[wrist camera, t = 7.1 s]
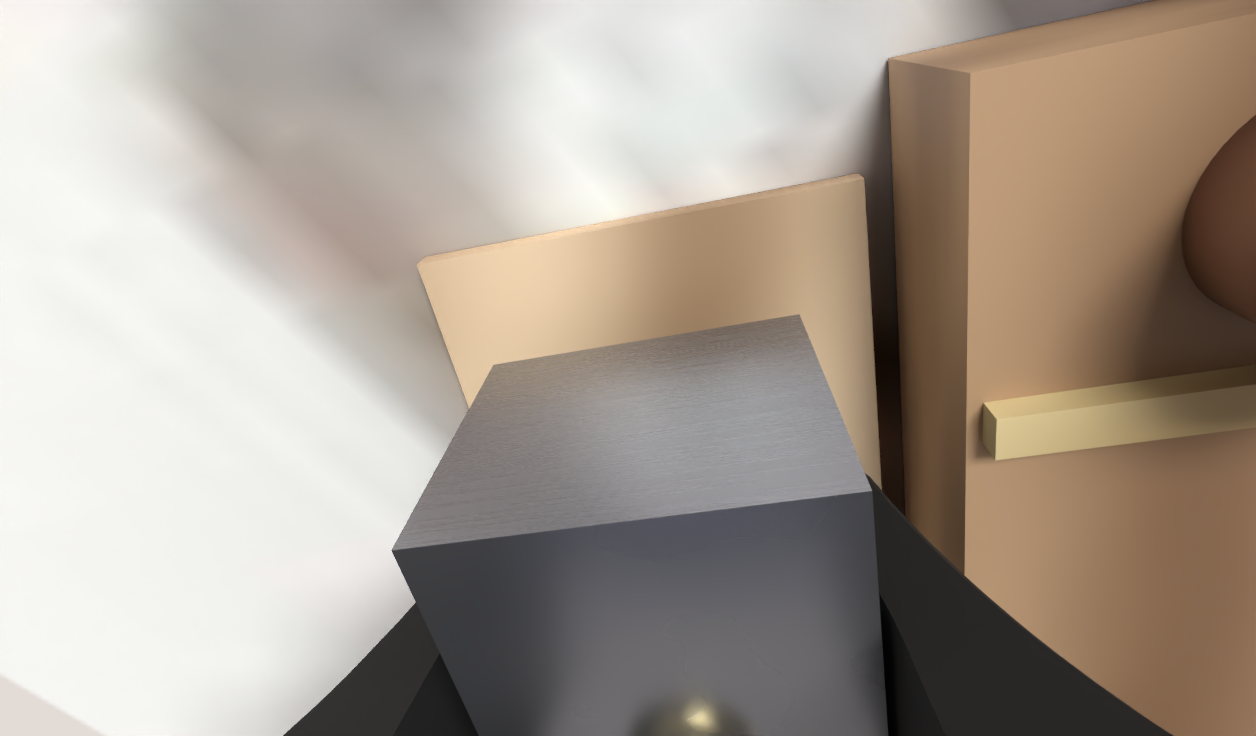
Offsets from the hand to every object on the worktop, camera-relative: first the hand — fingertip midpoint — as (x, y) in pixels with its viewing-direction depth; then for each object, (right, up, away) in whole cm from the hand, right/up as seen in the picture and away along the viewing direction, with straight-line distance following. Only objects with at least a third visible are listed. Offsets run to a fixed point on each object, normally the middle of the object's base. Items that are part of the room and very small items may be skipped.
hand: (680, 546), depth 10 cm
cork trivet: (0, +1, +2) cm, 3 cm away
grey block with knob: (0, 0, +1) cm, 1 cm away
